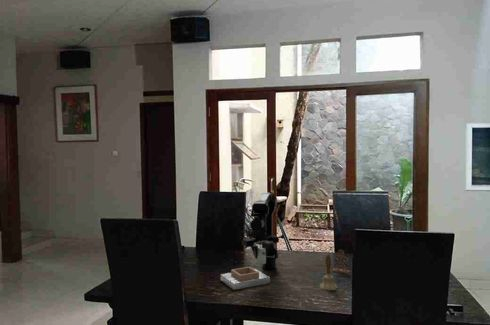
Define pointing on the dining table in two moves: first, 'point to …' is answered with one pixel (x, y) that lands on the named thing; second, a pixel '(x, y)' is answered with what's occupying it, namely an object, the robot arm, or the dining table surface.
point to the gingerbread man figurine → (341, 265)
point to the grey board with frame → (244, 278)
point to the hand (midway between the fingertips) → (260, 257)
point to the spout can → (261, 256)
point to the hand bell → (328, 277)
